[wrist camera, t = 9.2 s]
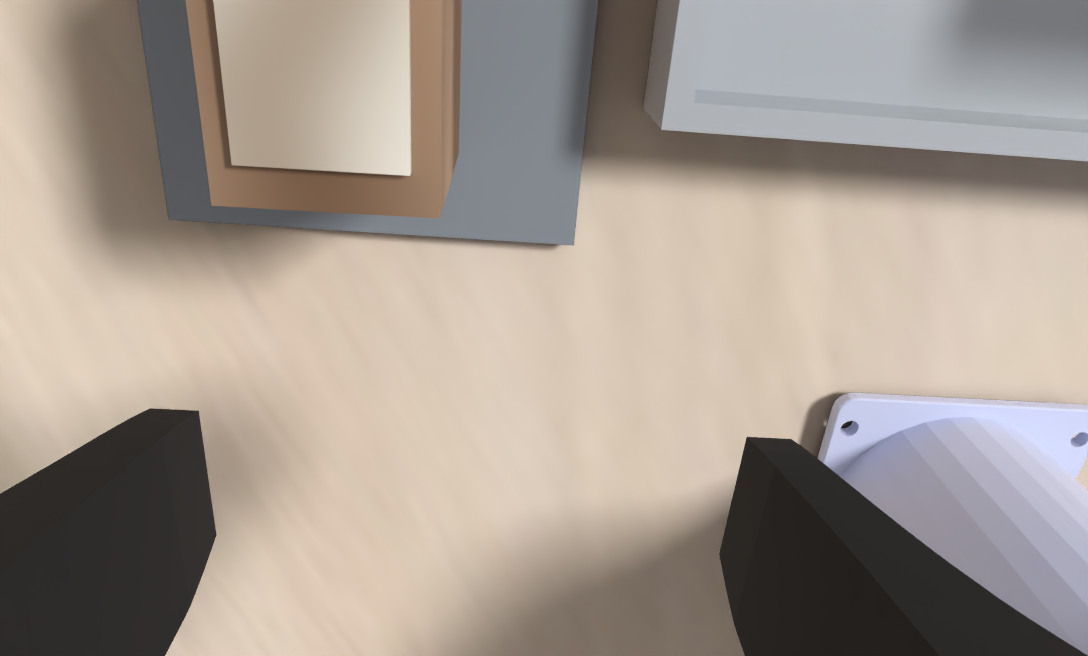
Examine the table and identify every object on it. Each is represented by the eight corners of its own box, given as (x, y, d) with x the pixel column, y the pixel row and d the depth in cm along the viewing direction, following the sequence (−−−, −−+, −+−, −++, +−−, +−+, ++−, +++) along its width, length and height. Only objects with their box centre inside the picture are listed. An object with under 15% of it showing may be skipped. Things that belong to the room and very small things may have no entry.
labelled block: (464, -139, 15) (442, -182, 11) (458, 154, 18) (438, 221, 13) (265, -156, 15) (153, -208, 10) (288, 143, 18) (207, 209, 13)
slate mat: (572, 238, 20) (573, 245, 19) (176, 213, 19) (168, 219, 18) (619, -231, 15) (621, -237, 15) (108, -285, 15) (94, -292, 14)
